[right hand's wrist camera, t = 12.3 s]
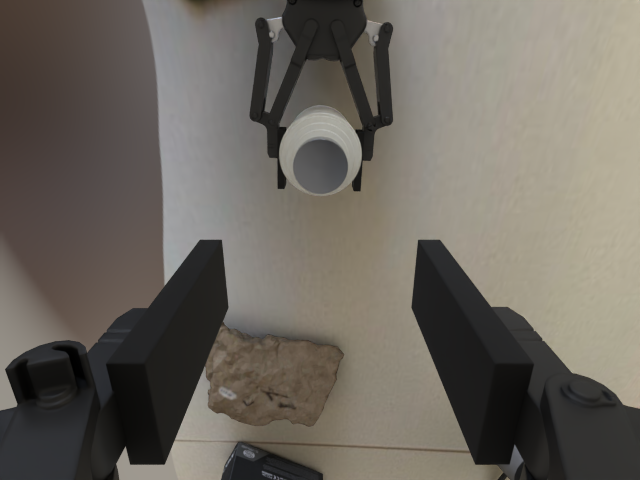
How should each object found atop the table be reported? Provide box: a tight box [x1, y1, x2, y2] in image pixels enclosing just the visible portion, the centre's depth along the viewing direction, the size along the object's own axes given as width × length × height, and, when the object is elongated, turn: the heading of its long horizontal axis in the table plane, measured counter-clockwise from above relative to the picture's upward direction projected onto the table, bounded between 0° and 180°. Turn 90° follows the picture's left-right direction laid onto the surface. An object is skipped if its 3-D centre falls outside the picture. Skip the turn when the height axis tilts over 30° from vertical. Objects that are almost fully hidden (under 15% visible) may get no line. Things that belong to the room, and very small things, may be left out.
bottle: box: [279, 105, 362, 196], centre depth 42 cm, size 8×8×18 cm
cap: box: [293, 136, 348, 194], centre depth 34 cm, size 5×5×2 cm
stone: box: [205, 322, 344, 426], centre depth 60 cm, size 21×15×6 cm
